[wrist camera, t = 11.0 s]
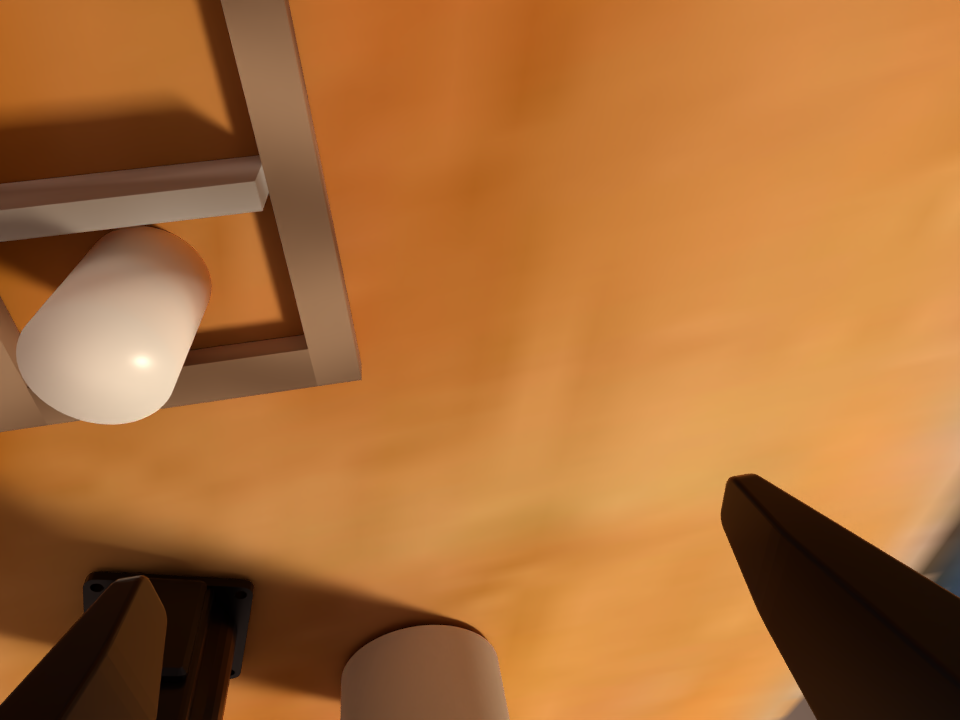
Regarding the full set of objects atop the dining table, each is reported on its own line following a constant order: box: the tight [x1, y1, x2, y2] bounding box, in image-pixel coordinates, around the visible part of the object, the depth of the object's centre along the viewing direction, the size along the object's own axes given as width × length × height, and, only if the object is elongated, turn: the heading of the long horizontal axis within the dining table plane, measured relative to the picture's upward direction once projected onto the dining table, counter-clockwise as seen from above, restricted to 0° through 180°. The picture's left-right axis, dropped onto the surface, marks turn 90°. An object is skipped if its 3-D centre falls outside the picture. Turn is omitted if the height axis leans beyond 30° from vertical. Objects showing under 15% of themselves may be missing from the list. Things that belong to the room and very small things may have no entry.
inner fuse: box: [16, 226, 212, 424], centre depth 19 cm, size 4×4×5 cm
